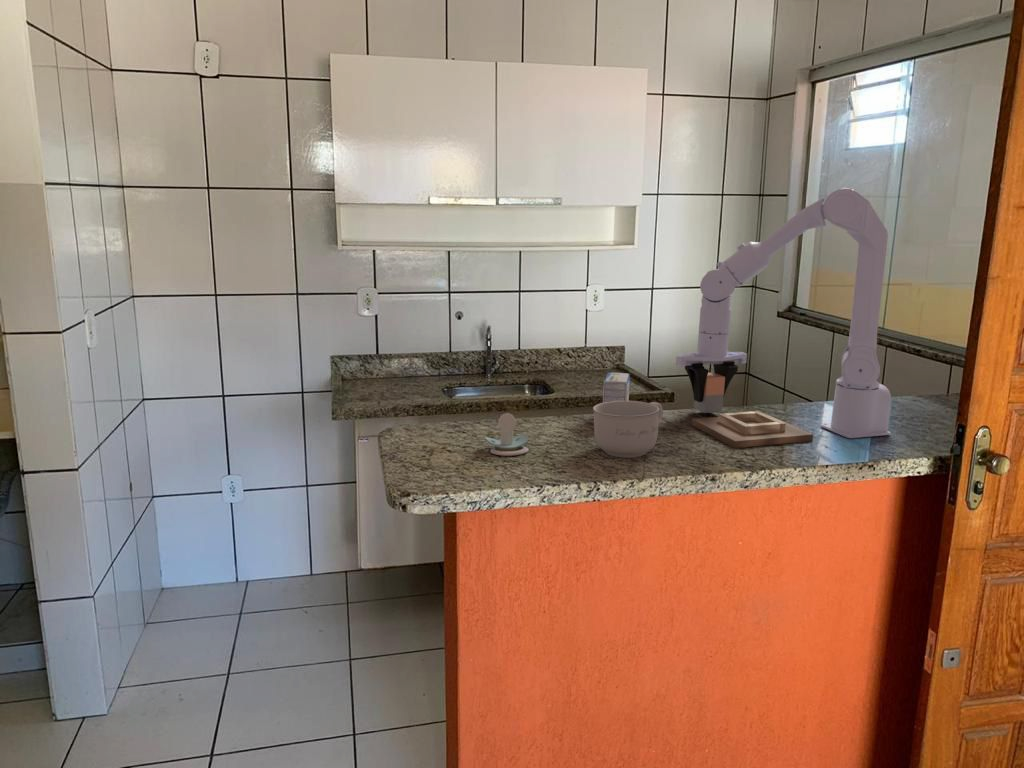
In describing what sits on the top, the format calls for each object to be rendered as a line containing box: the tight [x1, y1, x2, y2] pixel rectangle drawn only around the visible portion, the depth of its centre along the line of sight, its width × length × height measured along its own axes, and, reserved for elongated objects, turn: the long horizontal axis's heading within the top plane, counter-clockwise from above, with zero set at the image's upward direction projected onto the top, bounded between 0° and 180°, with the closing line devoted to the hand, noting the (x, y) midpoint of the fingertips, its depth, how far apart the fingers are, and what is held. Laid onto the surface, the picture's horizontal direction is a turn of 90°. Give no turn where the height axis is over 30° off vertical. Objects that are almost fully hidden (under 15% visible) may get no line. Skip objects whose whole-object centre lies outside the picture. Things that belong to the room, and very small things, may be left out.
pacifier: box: [484, 412, 529, 457], centre depth 126 cm, size 7×6×6 cm
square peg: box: [693, 372, 725, 414], centre depth 150 cm, size 4×4×7 cm
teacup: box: [592, 400, 664, 459], centre depth 127 cm, size 14×11×8 cm
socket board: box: [691, 410, 814, 449], centre depth 139 cm, size 16×14×3 cm
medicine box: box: [602, 372, 631, 403], centre depth 144 cm, size 8×4×9 cm, turn 168°
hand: (708, 400), depth 150 cm, fingers closed on square peg, 4 cm apart
